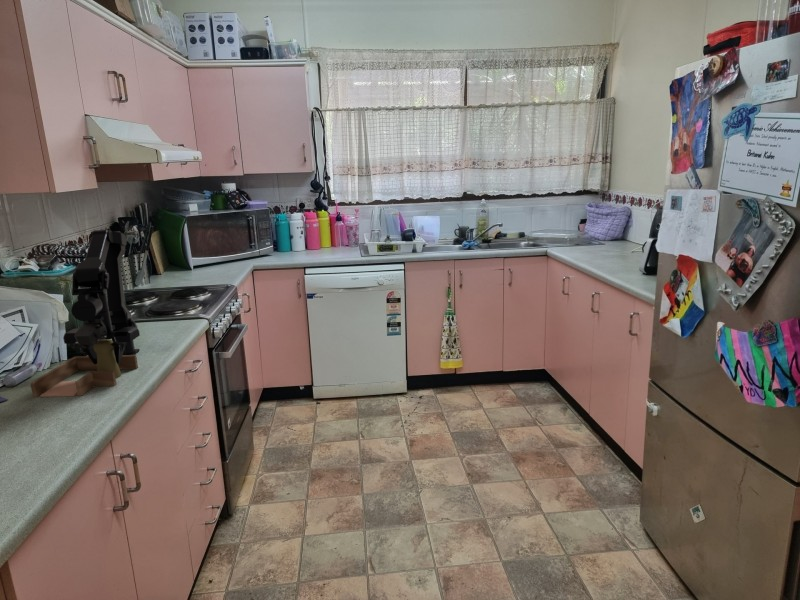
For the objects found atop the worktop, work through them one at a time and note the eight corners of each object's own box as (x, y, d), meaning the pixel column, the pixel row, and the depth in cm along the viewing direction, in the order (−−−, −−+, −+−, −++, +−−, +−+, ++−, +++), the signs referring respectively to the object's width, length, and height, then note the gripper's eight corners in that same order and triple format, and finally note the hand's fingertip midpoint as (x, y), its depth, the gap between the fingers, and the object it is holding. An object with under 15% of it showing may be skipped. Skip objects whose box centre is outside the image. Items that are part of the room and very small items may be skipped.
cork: (125, 372, 153) (118, 336, 150) (115, 380, 147) (108, 343, 144) (104, 373, 153) (97, 337, 150) (93, 381, 147) (86, 344, 144)
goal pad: (62, 382, 147) (62, 381, 147) (94, 381, 147) (93, 380, 147) (40, 396, 138) (40, 395, 138) (74, 395, 138) (73, 394, 138)
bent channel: (77, 369, 157) (74, 356, 156) (138, 367, 156) (136, 355, 155) (33, 396, 138) (30, 382, 137) (102, 395, 138) (99, 381, 137)
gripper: (44, 320, 137) (56, 375, 142) (114, 318, 137) (124, 374, 141) (71, 308, 148) (81, 360, 152) (136, 307, 148) (144, 358, 152)
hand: (107, 363), depth 149 cm, fingers open, 6 cm apart
